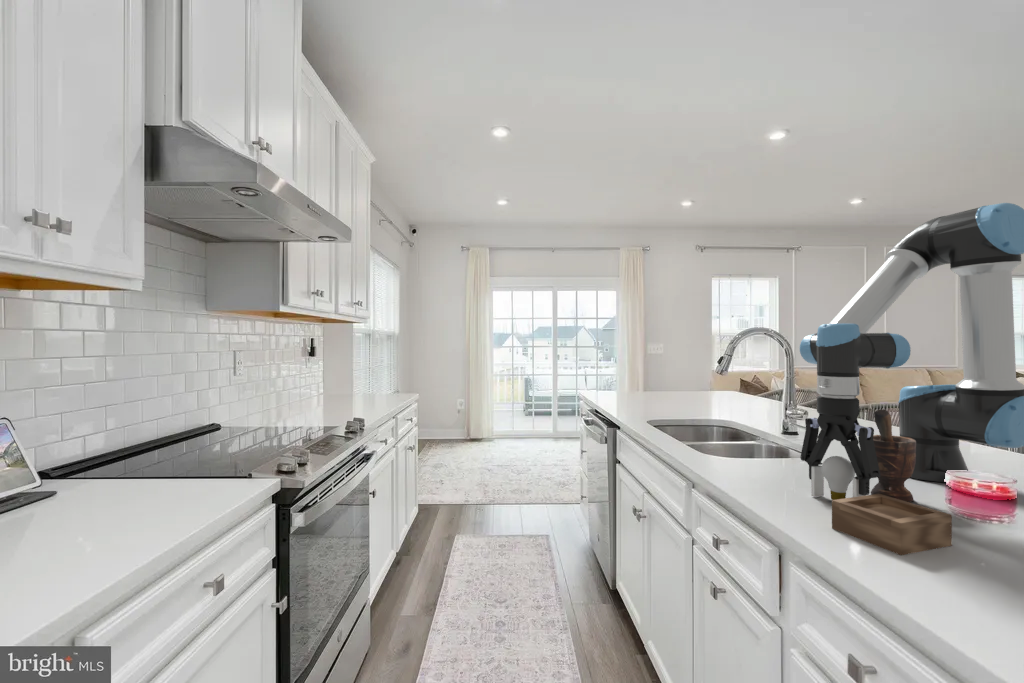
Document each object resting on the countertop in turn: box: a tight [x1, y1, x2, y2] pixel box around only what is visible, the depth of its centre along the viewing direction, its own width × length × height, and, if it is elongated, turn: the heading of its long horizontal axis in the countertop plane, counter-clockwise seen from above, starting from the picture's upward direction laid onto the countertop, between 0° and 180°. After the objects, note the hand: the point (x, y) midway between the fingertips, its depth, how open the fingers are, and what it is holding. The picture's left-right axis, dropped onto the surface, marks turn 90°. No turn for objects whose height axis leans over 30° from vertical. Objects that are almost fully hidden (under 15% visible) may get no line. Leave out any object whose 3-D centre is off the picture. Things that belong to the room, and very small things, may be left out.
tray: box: [831, 494, 953, 556], centre depth 86 cm, size 12×12×5 cm
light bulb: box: [821, 455, 856, 501], centre depth 104 cm, size 6×6×10 cm
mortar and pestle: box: [870, 409, 916, 503], centre depth 106 cm, size 12×9×20 cm
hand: (837, 502), depth 104 cm, fingers open, 9 cm apart
